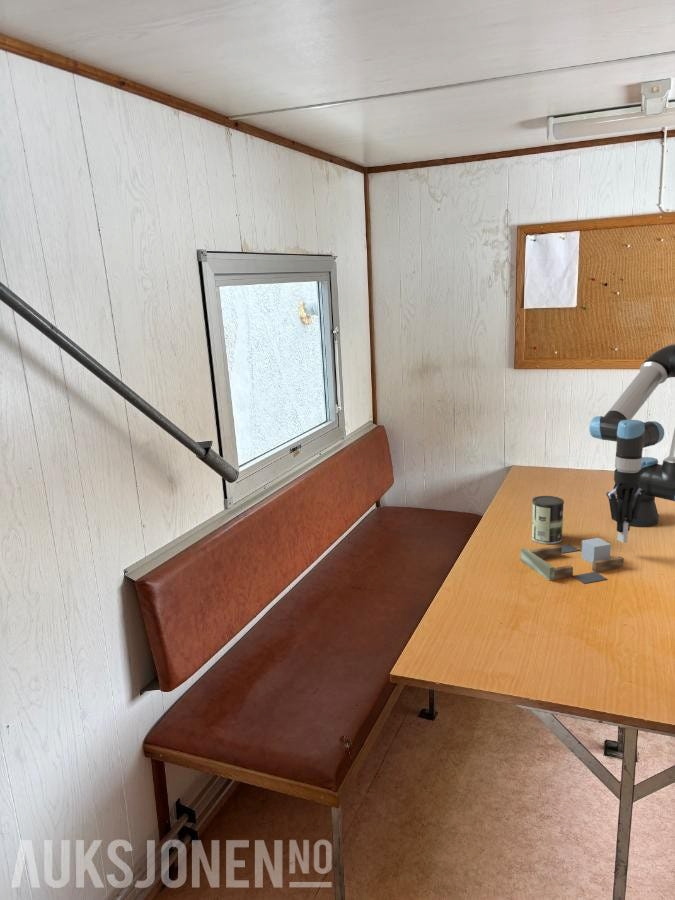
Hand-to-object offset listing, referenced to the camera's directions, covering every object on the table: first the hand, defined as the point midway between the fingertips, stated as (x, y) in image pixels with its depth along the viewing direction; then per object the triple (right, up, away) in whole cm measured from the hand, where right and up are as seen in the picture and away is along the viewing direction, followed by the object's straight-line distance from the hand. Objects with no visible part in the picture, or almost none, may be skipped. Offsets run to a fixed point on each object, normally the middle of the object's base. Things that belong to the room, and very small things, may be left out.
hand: (622, 540), depth 214 cm
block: (-9, -6, -1) cm, 11 cm away
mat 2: (-16, -9, -14) cm, 23 cm away
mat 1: (-16, -4, +8) cm, 18 cm away
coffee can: (-19, -2, +17) cm, 26 cm away
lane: (-18, -7, -4) cm, 19 cm away
